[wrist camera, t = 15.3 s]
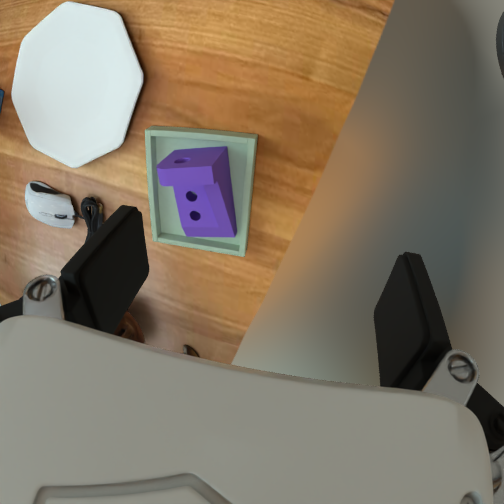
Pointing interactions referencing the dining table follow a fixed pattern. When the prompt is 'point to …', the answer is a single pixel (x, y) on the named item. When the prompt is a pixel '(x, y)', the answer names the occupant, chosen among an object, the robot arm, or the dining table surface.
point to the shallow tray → (163, 197)
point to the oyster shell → (189, 351)
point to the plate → (77, 83)
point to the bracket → (201, 190)
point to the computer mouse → (61, 208)
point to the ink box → (1, 98)
